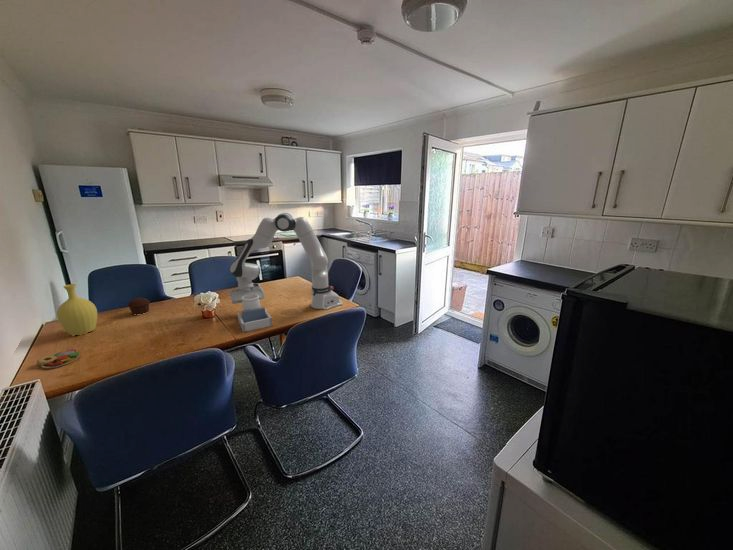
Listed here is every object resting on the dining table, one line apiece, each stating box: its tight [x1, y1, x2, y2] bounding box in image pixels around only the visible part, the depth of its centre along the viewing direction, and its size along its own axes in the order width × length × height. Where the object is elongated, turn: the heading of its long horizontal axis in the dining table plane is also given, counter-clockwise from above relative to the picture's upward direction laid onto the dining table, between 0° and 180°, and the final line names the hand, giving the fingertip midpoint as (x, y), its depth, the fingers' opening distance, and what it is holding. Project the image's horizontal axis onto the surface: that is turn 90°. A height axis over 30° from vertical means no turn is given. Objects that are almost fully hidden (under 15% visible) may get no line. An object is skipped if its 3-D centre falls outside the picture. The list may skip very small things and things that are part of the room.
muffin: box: [127, 297, 151, 315], centre depth 192 cm, size 12×11×10 cm
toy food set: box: [36, 349, 80, 369], centre depth 138 cm, size 13×13×3 cm
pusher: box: [241, 306, 266, 323], centre depth 178 cm, size 13×2×8 cm, turn 121°
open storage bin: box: [237, 308, 273, 333], centre depth 178 cm, size 16×19×5 cm
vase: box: [56, 283, 98, 336], centre depth 163 cm, size 16×16×28 cm
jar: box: [241, 294, 261, 311], centre depth 182 cm, size 11×10×15 cm
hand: (250, 306), depth 187 cm, fingers closed
